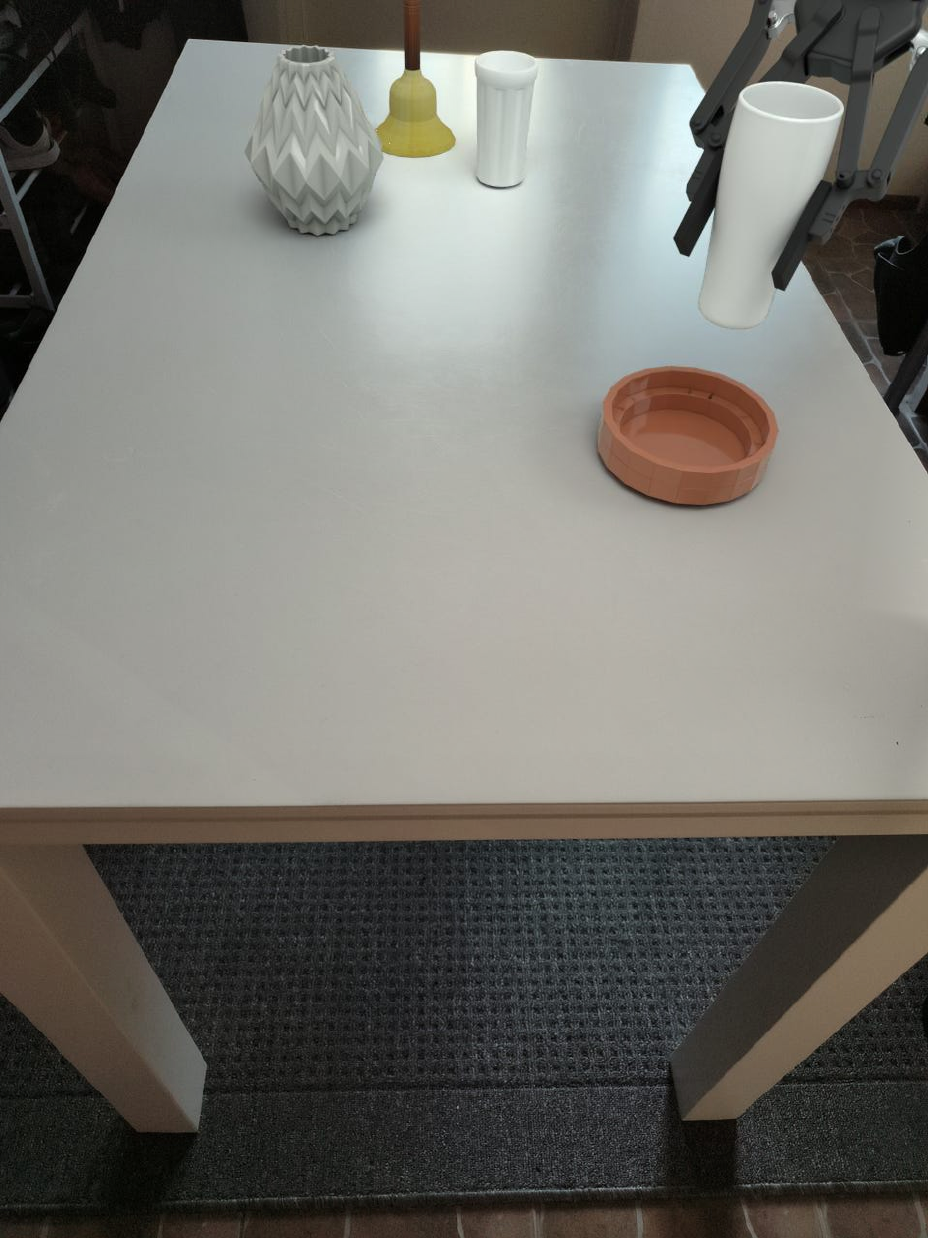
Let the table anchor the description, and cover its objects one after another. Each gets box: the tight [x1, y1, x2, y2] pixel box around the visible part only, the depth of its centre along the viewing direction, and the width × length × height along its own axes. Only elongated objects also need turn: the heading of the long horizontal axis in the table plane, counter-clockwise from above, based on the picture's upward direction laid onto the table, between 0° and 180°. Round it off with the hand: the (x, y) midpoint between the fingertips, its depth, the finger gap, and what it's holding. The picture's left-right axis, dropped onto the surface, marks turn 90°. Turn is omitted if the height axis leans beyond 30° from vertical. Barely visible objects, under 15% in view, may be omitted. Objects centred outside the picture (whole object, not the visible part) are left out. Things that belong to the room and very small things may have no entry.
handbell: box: [374, 0, 457, 158], centre depth 119 cm, size 12×12×25 cm
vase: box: [244, 44, 384, 237], centre depth 105 cm, size 16×16×18 cm
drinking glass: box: [697, 82, 845, 331], centre depth 62 cm, size 7×7×15 cm
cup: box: [474, 50, 540, 188], centre depth 115 cm, size 8×8×14 cm
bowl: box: [597, 365, 779, 506], centre depth 82 cm, size 16×16×4 cm
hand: (728, 264), depth 62 cm, fingers closed on drinking glass, 7 cm apart
